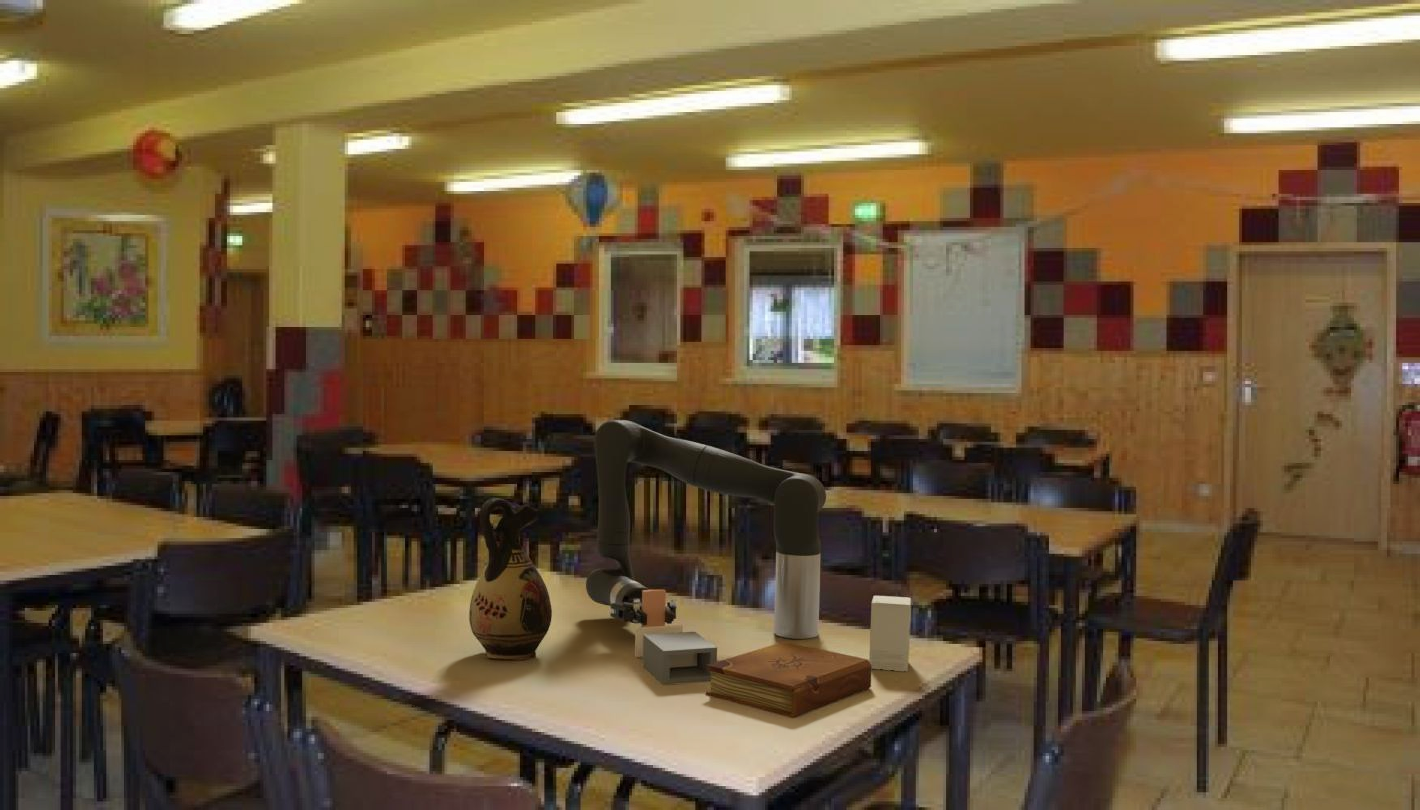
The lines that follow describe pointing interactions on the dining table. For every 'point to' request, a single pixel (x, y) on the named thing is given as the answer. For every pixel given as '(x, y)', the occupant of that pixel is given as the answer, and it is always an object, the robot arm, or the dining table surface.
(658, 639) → the sleeve
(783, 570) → the robot arm
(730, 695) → the diary
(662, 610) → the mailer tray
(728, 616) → the dining table surface
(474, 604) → the ceramic jug
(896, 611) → the supplement box
